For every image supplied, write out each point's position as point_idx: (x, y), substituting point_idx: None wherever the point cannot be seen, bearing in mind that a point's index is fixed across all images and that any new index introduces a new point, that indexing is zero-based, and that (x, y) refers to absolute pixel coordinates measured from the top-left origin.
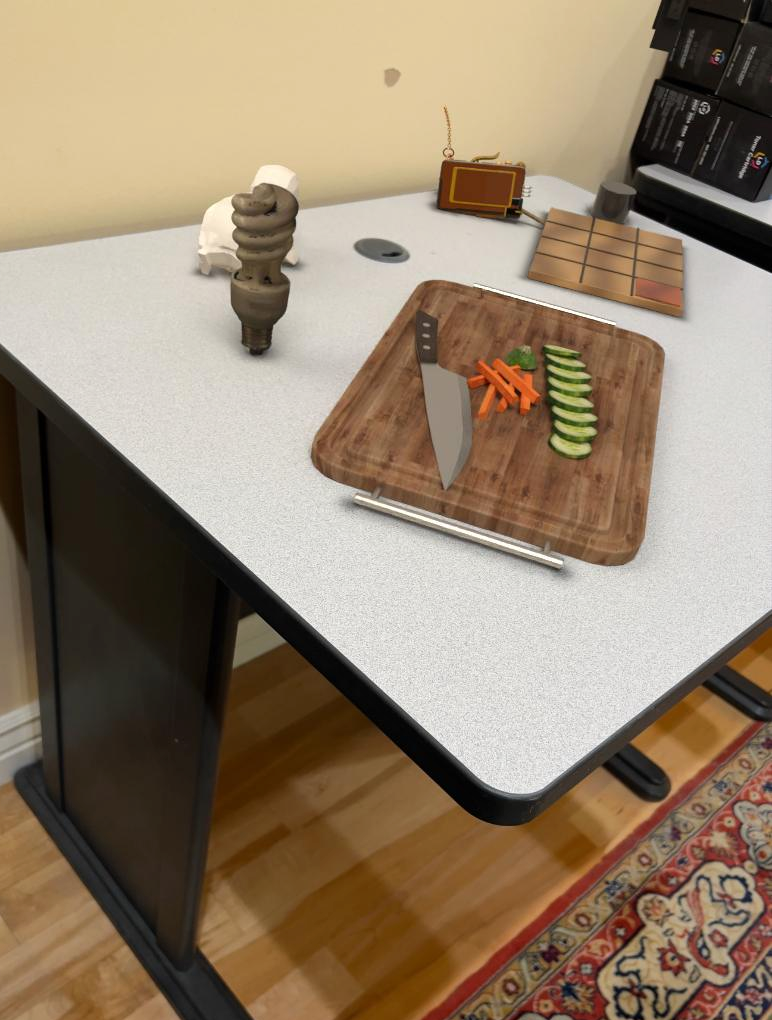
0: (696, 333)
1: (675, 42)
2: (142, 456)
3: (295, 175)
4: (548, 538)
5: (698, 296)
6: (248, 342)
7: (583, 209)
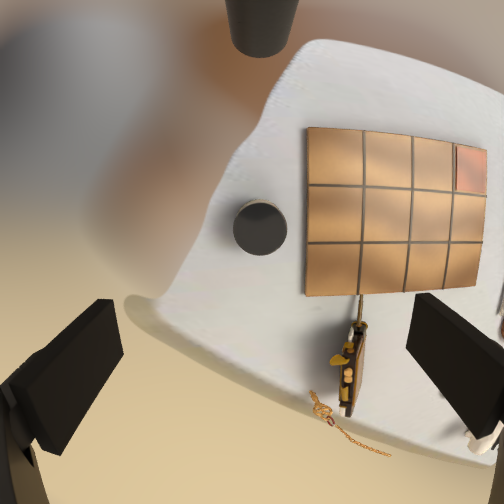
0: (496, 139)
1: (440, 302)
2: None
3: (489, 440)
4: None
5: (434, 122)
6: None
7: (251, 255)
